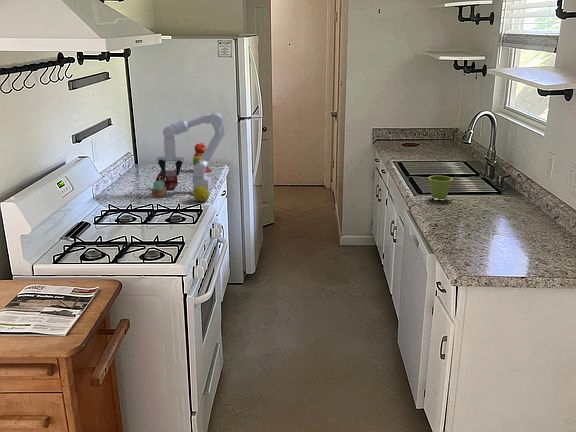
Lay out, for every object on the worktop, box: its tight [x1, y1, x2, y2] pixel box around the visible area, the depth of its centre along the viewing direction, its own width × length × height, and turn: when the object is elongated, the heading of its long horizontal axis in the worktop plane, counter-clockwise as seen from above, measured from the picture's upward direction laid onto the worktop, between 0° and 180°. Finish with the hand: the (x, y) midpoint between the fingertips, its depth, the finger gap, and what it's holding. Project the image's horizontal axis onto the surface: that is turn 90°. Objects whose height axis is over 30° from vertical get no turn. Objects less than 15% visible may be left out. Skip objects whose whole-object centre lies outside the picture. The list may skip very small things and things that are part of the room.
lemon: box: [193, 186, 210, 203], centre depth 287 cm, size 11×8×8 cm
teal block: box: [152, 180, 165, 190], centre depth 297 cm, size 4×4×4 cm
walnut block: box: [151, 187, 168, 199], centre depth 298 cm, size 6×6×4 cm
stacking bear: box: [192, 142, 213, 174], centre depth 352 cm, size 11×10×18 cm
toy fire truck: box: [155, 169, 179, 191], centre depth 312 cm, size 7×12×10 cm, turn 91°
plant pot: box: [428, 175, 453, 199], centre depth 289 cm, size 12×12×11 cm
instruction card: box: [171, 193, 191, 199], centre depth 298 cm, size 8×6×1 cm
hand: (171, 174), depth 300 cm, fingers open, 7 cm apart
